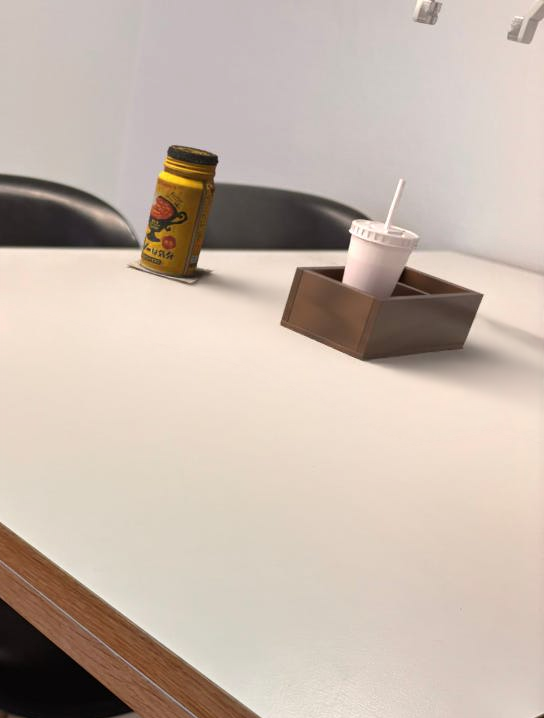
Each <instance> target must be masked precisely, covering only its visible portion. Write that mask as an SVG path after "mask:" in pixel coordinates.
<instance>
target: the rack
mask: <svg viewBox="0 0 544 718" xmlns="http://www.w3.org/2000/svg"><path fill="white" fill-rule="evenodd" d="M345 266H346V265H336V266H335V265H333V266H332V265H331V266H297V267H296V269H295V272H294V274H293V275H294V276H293V279H292V282H291V285H290V289H289V292H288V296H287V299H286V302H285V306H284V309H283V311H282V312H283V313H282V317H281V319H280V322H279V325H280V326H282V325H283V326H282V327H284V326H285V327H284V328H287V329H289V330H291V331H294V332H296V333H298V334H300V335H302V336H305V337H308V338H309V339H312V340H314V341H317V342H319V343H321V344H324V345H326V346H328V347H330V348H332V349H335V350H337V351H340V352H342V353H344V354H347V355H349V356H351V357H353V358H356V359H357V360H361V361H366V360H373V359H375V360H376V359H384V358H391V357H399V356H406V355H407V356H408V355H416V354H423V353H424V354H425V353H432V352H440V351H449V350H456V349H463V348H464V346H465V344H466V342H467V339H468V337H469V334H470V331H471V329H472V326H473V323H474V321H475V319H476V316H477V313H478V311H479V309H480V306H481V303H482V301H483V298H484V296H485V294H484V293H481V292H479V291H476V290H474V289H471V288H467V287H465V286H462V285H459V284H457V283H454V282H451V281H449V280H446V279H443V278H440V277H438V276H435V275H432V274H428V273H427V272H424V271H421V270H418V269H416V268H412V267H409V266H407V265H405V267H404V269H403V271H402V273H401V275H400V277H399V280H398V282H397V284H396V286H395V288H394V290H393V292H392V294H391V296H390V297H380V298H379V297H377V296H375V295H372V294H370V293H367V292H365V291H362V290H359V289H357V288H354V287H352V286H349V285H347V284H344V283H342V282H343V276H344V271H345Z"/></svg>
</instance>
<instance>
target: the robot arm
mask: <svg viewBox="0 0 544 718" xmlns="http://www.w3.org/2000/svg"><path fill="white" fill-rule="evenodd" d="M442 6H443V3H442V2H438V1H436V0H417V2H416V5H415V9H414V12H413V15H412V21H413V22H414V23H419V24H423V25H430V26H435V25H436V23H437V22H438V19H439V16H438V14H440V13H441V9H442ZM543 19H544V0H535V1H534V3H533V4H532V5H531V6H530V7H529V9H528V10H526V12H525V13H524V14H523V16H517V15H513V18H512V21H511V23H510V27H511V28H510V29H509V30H508V31H507V37H506V38H507V40H508V41H510V42H515V43H520V44H524V45H530V44H531V43H532V41H533V39H534V36H535V33H536V31H537V29H538V25H539V23H540V22H541V21H542V20H543Z"/></svg>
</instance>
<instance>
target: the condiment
mask: <svg viewBox="0 0 544 718" xmlns="http://www.w3.org/2000/svg"><path fill="white" fill-rule="evenodd" d="M218 164H219V155H217V154H215V153H213V152H211V151H207V150H206V149H205V150H204V149H200V148H196V147H191V146H186V145H185V146H184V145H178V144H176V145H175V144H172V145H170V146H168V149H167V151H166V158H165V159H164V162H163V167H164V168H163V170H162V171H161V172H160V173H159V174H158V177H157V181H156V184H155V190H154V193H153V200H152V202H151V208H150V212H149V216H148V220H147V225H146V231H145V236H144V240H143V244H142V250H141V254H140V259H138V260H135V261H133V262H130V263H126V265H127V266H131V267H134V268H136V269H140V270H141V271H144V272H148V273H152V274H155V275H158V276H162V277H165V278H169V279H173V280H179V281H182V282H186V283H188V284H192V283H194V282H197V281H199V280H201V279H202V278H204V277H205V276H207V275H210V274H211V273H213V272H214V270H213V269H209V268H202V267H198V263H199V259H200V255H201V251H202V247H203V243H204V238H205V234H206V229H207V226H208V221H209V217H210V213H211V210H212V209H211V208H212V206H213V202H214V197H215V193H216V185H215V177H216V175H217V173H216V169H217V166H218Z"/></svg>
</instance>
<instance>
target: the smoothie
mask: <svg viewBox="0 0 544 718" xmlns="http://www.w3.org/2000/svg"><path fill="white" fill-rule="evenodd" d="M406 183H407V180H406V179H405V178H400V179H399V182H398V185H397V187H396V191H395V193H394V196H393V200H392V202H391V205H390V208H389V212H388V215H387V218H386V221H385V223H384V222H379V221H374V220H369V219H368V220H367V219H354V220H352V223H351V226H350V229H348V232H349V233H350V234H351V235H350V236H351V237H350V242H349V246H348V251H347V257H346V261H345V265H344V266H345V271H344V276H343V282H342V283H344V284H347V285H349V286H352V287H354V288H357V289H359V290H362V291H365V292H367V293H370V294H372V295H375V296H377V297H379V298H380V297H390V296H391V294H392V292H393V290H394V288H395V286H396V284H397V282H398V280H399V277H400V275H401V273H402V271H403V269H404V267H405V266H407V263H408V261H409V258H410V256H411V254H412V252H413V250H417V249H418V245H419V242H420V239H421V237H420V236H419V235H418V234H417V233H415V232H413V231H410V230H408V229H405V228H402V227H399V226H395V225H392V224H393V222H394V219H395V216H396V213H397V210H398V206H399V203H400V201H401V197H402V195H403V192H404V190H405V186H406Z"/></svg>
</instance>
